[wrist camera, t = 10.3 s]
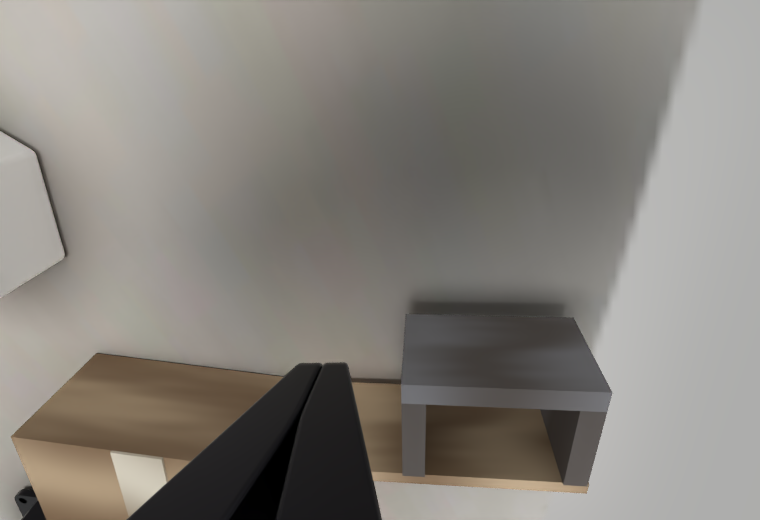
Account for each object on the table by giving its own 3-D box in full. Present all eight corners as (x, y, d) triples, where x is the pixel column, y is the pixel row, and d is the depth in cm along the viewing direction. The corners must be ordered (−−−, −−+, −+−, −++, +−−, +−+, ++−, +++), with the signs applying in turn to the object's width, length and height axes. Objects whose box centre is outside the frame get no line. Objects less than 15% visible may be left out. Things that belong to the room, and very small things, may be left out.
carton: (301, 521, 26) (274, 624, 22) (135, 498, 27) (76, 594, 22) (300, 379, 21) (266, 473, 16) (96, 353, 21) (8, 439, 17)
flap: (570, 307, 18) (615, 392, 13) (553, 398, 20) (587, 496, 16) (299, 302, 19) (263, 379, 15) (311, 388, 21) (282, 478, 17)
